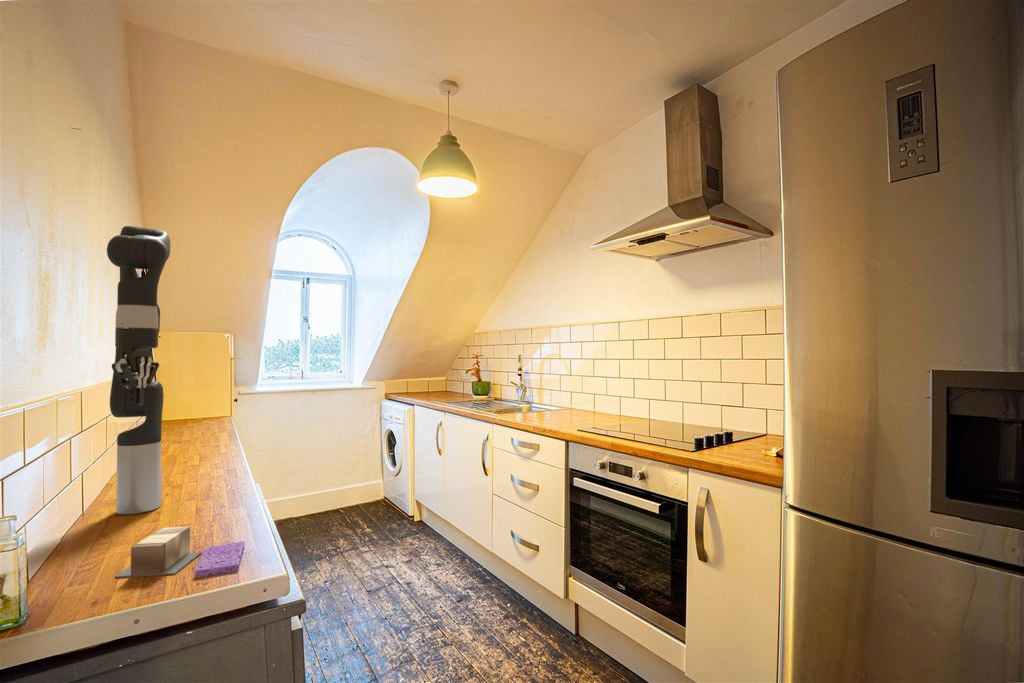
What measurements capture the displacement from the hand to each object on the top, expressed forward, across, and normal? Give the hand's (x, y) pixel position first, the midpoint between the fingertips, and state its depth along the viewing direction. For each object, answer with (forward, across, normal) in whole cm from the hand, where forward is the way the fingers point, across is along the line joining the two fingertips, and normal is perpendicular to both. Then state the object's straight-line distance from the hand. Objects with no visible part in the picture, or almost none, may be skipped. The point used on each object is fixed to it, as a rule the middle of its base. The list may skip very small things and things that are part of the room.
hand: (136, 405), depth 108 cm
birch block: (+26, +10, +14) cm, 31 cm away
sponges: (+30, +15, +25) cm, 42 cm away
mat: (+29, +16, +14) cm, 36 cm away
